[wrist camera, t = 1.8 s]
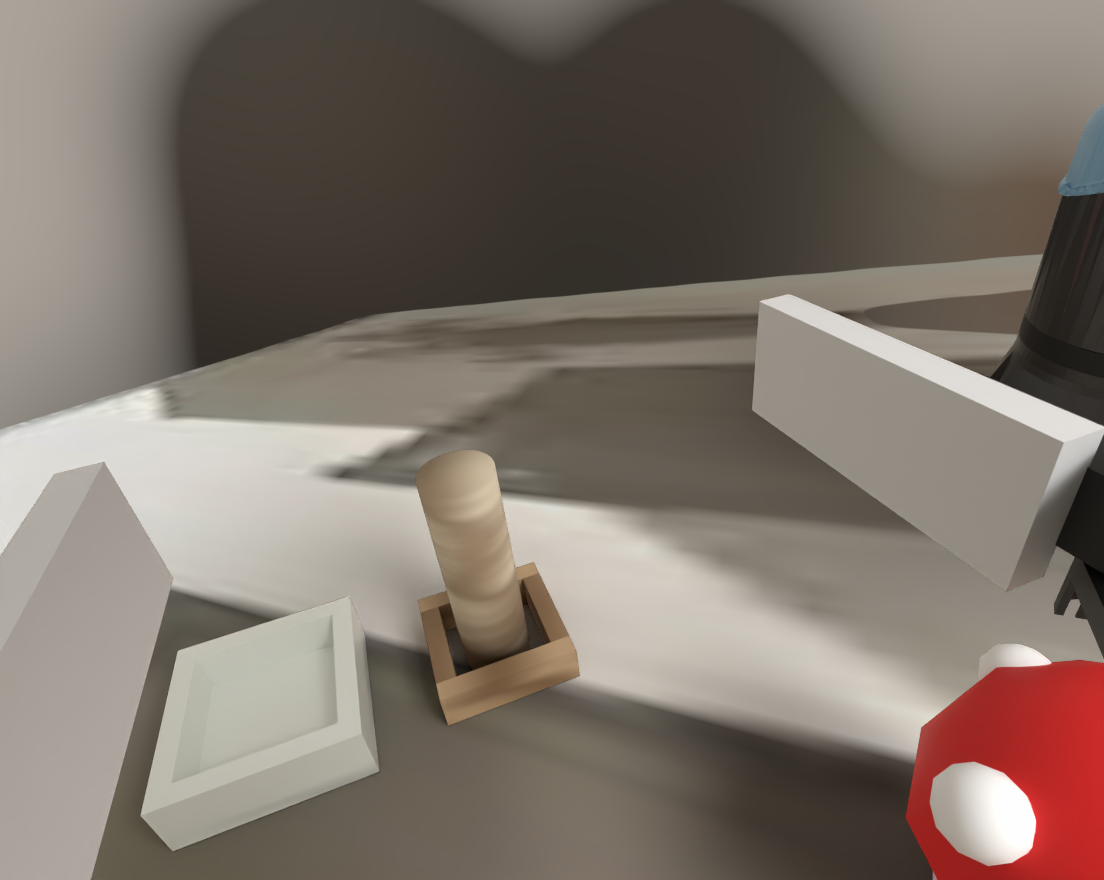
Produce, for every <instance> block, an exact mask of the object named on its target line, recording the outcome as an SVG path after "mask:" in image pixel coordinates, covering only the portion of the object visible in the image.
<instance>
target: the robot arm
mask: <svg viewBox="0 0 1104 880" xmlns="http://www.w3.org/2000/svg"><path fill="white" fill-rule="evenodd" d="M1058 193H1059V194H1062V198H1061V201H1060V204H1059V207H1058V210H1057V213H1056V216H1055V219H1054V222H1053V225H1052V229H1051V232H1050V235H1049V238H1048V241H1047V244H1046V248H1045V250H1044V253H1043V257H1042V260H1041V263H1040V266H1039V269H1038V272H1037V275H1036V278H1035V281H1034V285H1033V288H1032V291H1031V294H1030V297H1029V300H1028V303H1027V307H1026V310H1025V314H1024V317H1023V320H1022V323H1021V327H1020V330H1019V333H1018V336H1017V339H1016V341H1015V343H1014V344H1013V346H1012V347H1011V348H1010V350H1009V351H1008V352H1007V354H1006V355H1005V356H1004V358H1003V359H1002V360H1001V361H1000V363H999V364H998V365H997V367H996V368H995V369H994V371H993V372H992V373H991V374H990V376H989V377H988V376H985V375H983V374H979V373H975V372H973V371H971V370H968V369H966V368H964V367H961V366H959V365H956V364H954V363H952V362H949V361H947V360H945V359H942V358H940V357H937V356H935V355H933V354H930V353H928V352H926V351H923V350H921V349H918V348H916V347H914V346H911V345H909V344H906V343H904V342H902V341H899V340H897V339H895V338H892V337H890V336H887V335H885V334H883V333H880V332H878V331H876V330H873V329H871V328H868V327H866V326H864V325H861V324H859V323H857V322H854V321H852V320H849V319H847V318H845V317H842V316H840V315H838V314H835V313H833V312H830V311H828V310H826V309H823V308H821V307H819V306H816V305H814V304H811V303H809V302H807V301H804V300H802V299H800V298H797V297H795V296H792V295H790V294H788V295H784V296H780V297H776V298H771V299H767V300H763V301H760V304H759V318H758V333H757V347H756V361H755V376H754V390H753V404H752V410H753V411H754V412H756V413H757V414H758V415H760V416H761V417H762V418H764V419H765V420H767V421H768V422H769V423H771V424H772V425H774V426H775V427H776V428H778V429H779V430H781V431H782V432H783V433H785V434H786V435H788V436H789V437H790V438H792V439H793V440H795V441H796V442H797V443H799V444H800V445H802V446H803V447H804V448H806V449H807V450H809V451H810V452H811V453H813V454H814V455H816V456H817V457H818V458H820V459H821V460H823V461H824V462H825V463H827V464H828V465H830V466H831V467H832V468H834V469H835V470H837V471H838V472H839V473H841V474H842V475H844V476H845V477H846V478H848V479H849V480H851V481H852V482H853V483H855V484H856V485H858V486H859V487H860V488H862V489H863V490H865V491H866V492H867V493H869V494H870V495H871V496H873V497H874V498H876V499H877V500H878V501H880V502H881V503H883V504H884V505H885V506H887V507H888V508H890V509H891V510H892V511H894V512H895V513H897V514H898V515H899V516H901V517H902V518H904V519H905V520H906V521H908V522H909V523H911V524H912V525H913V526H915V527H916V528H918V529H919V530H920V531H922V532H923V533H925V534H926V535H927V536H929V537H930V538H932V539H933V540H934V541H936V542H937V543H939V544H940V545H941V546H943V547H944V548H946V549H947V550H948V551H950V552H951V553H953V554H954V555H955V556H957V557H958V558H960V559H961V560H962V561H964V562H965V563H967V564H968V565H969V566H971V567H972V568H974V569H975V570H976V571H978V572H979V573H980V574H982V575H983V576H985V577H986V578H987V579H989V580H990V581H992V582H993V583H994V584H996V585H997V586H999V587H1000V588H1001V589H1003V590H1004V591H1006V592H1007V591H1009V590H1012V589H1014V588H1017V587H1019V586H1022V585H1024V584H1026V583H1029V582H1031V581H1034V580H1036V579H1039V578H1041V577H1043V576H1044V574H1045V572H1046V569H1047V567H1048V565H1049V562H1050V560H1051V557H1052V555H1053V553H1054V550H1055V548H1056V546H1058V547H1060V548H1061V549H1063V550H1065V551H1066V552H1068V553H1070V554H1071V555H1073V556H1075V558H1074V561H1073V563H1072V565H1071V567H1070V570H1069V572H1068V574H1067V576H1066V578H1065V581H1064V583H1063V585H1062V587H1061V590H1060V592H1059V594H1058V596H1057V598H1056V601H1055V603H1054V614H1057V615H1064V612H1065V610H1066V608H1067V606H1068V604H1069V602H1070V600H1072V599H1079V601H1080V603H1081V605H1080V607H1079V609H1078V611H1077V613H1076V615H1075V617H1076V618H1081V619H1087V620H1088V622H1089V625H1090V627H1091V629H1092V632H1093V634H1094V636H1095V639H1096V641H1097V644H1098V646H1099V648H1100V651H1101V653H1102V655H1103V658H1104V103H1103V104H1102V105H1100V106H1099V107H1098V108H1097V109H1096V110H1095V112H1094V113H1093V114H1092V116H1091V117H1090V118H1089V120H1088V121H1087V123H1086V125H1085V127H1084V130H1083V132H1082V135H1081V138H1080V141H1079V143H1078V146H1077V149H1076V151H1075V154H1074V157H1073V160H1072V163H1071V165H1070V168H1069V171H1068V173H1067V175H1066V176H1065V177H1064V178H1063V180H1062V181H1061V182H1060V184H1059V189H1058ZM172 580H173V577H172V575H171V574H170V572H169V570H168V569H167V567H166V565H165V564H164V562H163V560H162V559H161V557H160V555H159V554H158V552H157V550H156V548H155V547H154V545H153V543H152V542H151V540H150V538H149V537H148V535H147V533H146V532H145V530H144V528H143V527H142V525H141V523H140V522H139V520H138V518H137V516H136V515H135V513H134V511H133V510H132V508H131V506H130V505H129V503H128V501H127V500H126V498H125V496H124V495H123V493H122V491H121V490H120V488H119V486H118V485H117V483H116V481H115V479H114V478H113V476H112V474H111V473H110V471H109V469H108V468H107V466H106V464H105V463H104V462H102V463H98V464H93V465H89V466H85V467H81V468H77V469H73V470H69V471H65V472H61V473H57V474H54V475H53V477H52V478H51V480H50V481H49V483H48V484H47V486H46V487H45V489H44V490H43V492H42V494H41V495H40V497H39V498H38V500H37V501H36V503H35V504H34V506H33V507H32V509H31V510H30V512H29V513H28V515H27V516H26V518H25V519H24V521H23V522H22V524H21V525H20V527H19V528H18V530H17V532H16V533H15V535H14V536H13V538H12V539H11V541H10V542H9V544H8V545H7V547H6V548H5V550H4V551H3V553H2V554H1V556H0V880H91V877H92V873H93V870H94V866H95V862H96V859H97V855H98V851H99V848H100V844H101V840H102V837H103V833H104V829H105V826H106V822H107V818H108V815H109V811H110V807H111V804H112V800H113V796H114V793H115V789H116V785H117V782H118V778H119V774H120V771H121V767H122V763H123V760H124V756H125V752H126V749H127V745H128V741H129V738H130V734H131V731H132V727H133V723H134V720H135V716H136V712H137V709H138V705H139V701H140V698H141V694H142V690H143V687H144V683H145V679H146V676H147V672H148V668H149V665H150V661H151V657H152V654H153V650H154V646H155V643H156V639H157V635H158V632H159V628H160V624H161V621H162V617H163V613H164V610H165V606H166V602H167V599H168V595H169V591H170V588H171V584H172Z"/></svg>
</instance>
